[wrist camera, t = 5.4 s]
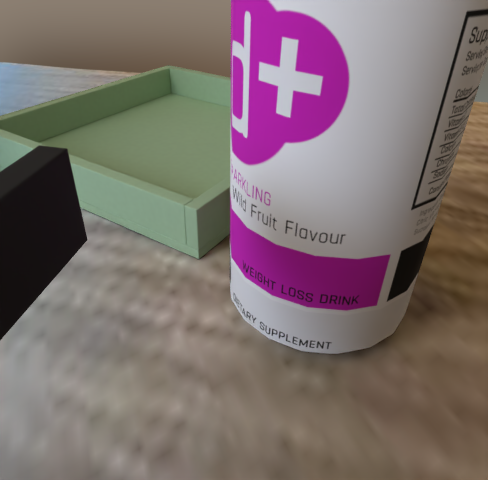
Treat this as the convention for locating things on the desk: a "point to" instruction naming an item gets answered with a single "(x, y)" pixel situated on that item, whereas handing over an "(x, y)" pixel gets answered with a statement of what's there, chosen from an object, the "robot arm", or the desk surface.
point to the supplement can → (342, 157)
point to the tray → (142, 152)
